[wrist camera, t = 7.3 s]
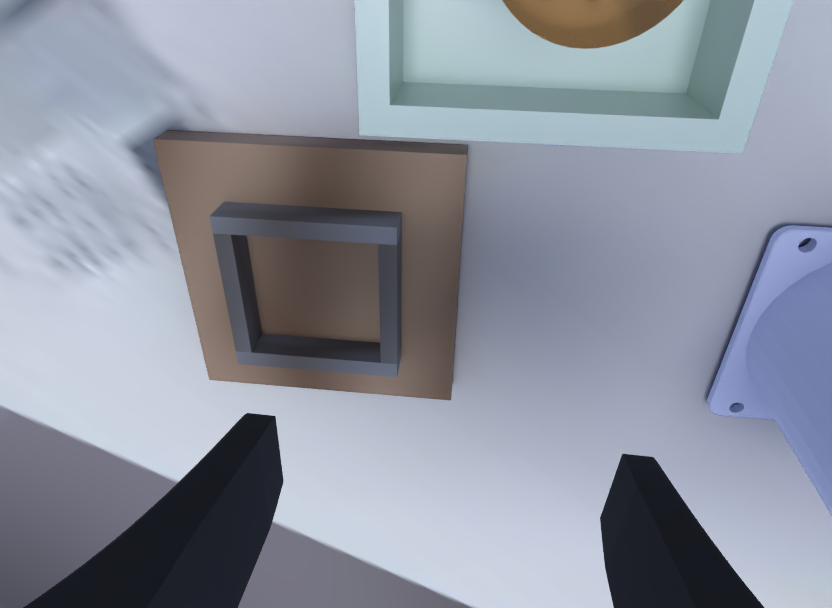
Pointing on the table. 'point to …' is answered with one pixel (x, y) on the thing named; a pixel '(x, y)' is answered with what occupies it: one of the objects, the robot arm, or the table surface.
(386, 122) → the bin
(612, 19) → the metal can
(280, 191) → the socket plate
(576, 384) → the table surface
